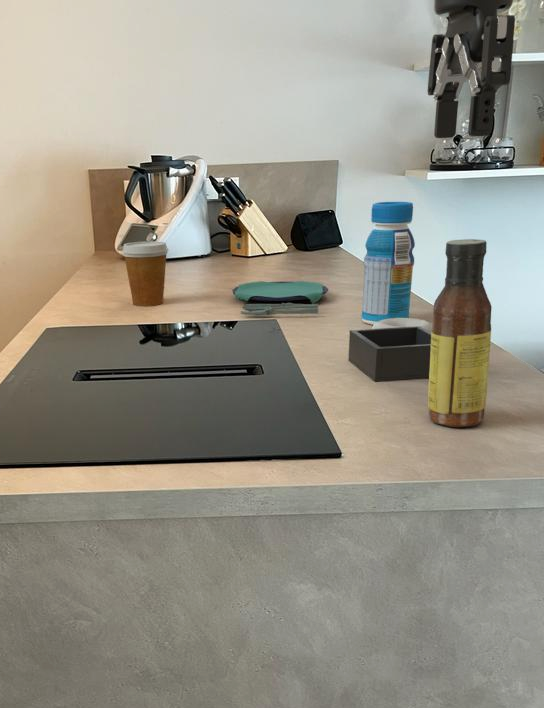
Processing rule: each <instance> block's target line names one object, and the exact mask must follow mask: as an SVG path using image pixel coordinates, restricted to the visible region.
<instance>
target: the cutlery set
mask: <svg viewBox="0 0 544 708" xmlns="http://www.w3.org/2000/svg"><path fill="white" fill-rule="evenodd" d="M328 291H329V288H328V287H327V286H326V285H323V283H320V282H315V281H314V282H313V281H308V280H307V281H306V280H299V281H298V280H297V281H263V280H259V281H251V282H250V281H249V282H245V283H240V284H238V286H236V287H234V288H232V294H233V295H234V296H235V297H236V299H237V300H240V301H245V302H249V300H254V301H263V302H282V303H247V304H243V306H242V307H241V309H243V311H242V310H241V311H240V315H241V314H242V315H259V316H262V315H264V316H265V315H266V316H271V315H273V313H275V314H285V315H299V314H300V315H301V314H316V315H317V314H319V303H317V302H318V301H319V300H320V299H321V298H322V296H323V295H325V294H327V293H328ZM308 299H309V300H310V302H311V304H309V303H308V304H304V303H292V302H291V301H301V300H302V301H303V300H308ZM289 301H290V302H289ZM284 302H286V303H284Z"/></svg>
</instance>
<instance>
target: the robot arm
mask: <svg viewBox="0 0 544 708" xmlns="http://www.w3.org/2000/svg"><path fill="white" fill-rule="evenodd" d="M513 2H514V0H433V14H434V15H435V16H436V17H438V18H441V19H443V18H445V19H446V20H447V25H446V30H445V33H439V34H433V35H432V39H431V49H430V58H429V59H430V60H429V70H428V79H427V81H428V82H427V91H426V92H427V95H428V96H432V97H433V100H434V101H435V102H436V105H435V115H434V116H435V119H434V131H433V135H434V137H435V138H436V139H451V138H454V137H455V136H456V133H457V123H458V122H457V121H458V112H459V111H458V110H459V100H458V99H459V96H460V94H461V91H462V88H463V85H464V84H465V83H466V82H469V86H470V90H471V94H472V95H471V96H470V104H469V105H470V106H469V117H468V127H467V134H468V136H469V137H488V136H490V135H491V134H492V132H493V124H494V113H495V104H496V95H498V94H499V93H500V91H501V88H502V86H508V85H509V84H510V82H511V75H512V72H511V71H512V64H513V63H512V61H513V51H514V39H515V38H514V36H515V23H516V18H515V17H516V16H515V15H514V14H507V15H506V14H505V15H503V14H502V15H498V14H501V13H504V12H506V11H508V10H509V9H511V7H512V6H513ZM499 69H500V71H499Z"/></svg>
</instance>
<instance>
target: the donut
mask: <svg viewBox="0 0 544 708" xmlns="http://www.w3.org/2000/svg"><path fill="white" fill-rule="evenodd" d="M413 326H420V327H422V328H424V329H426V330H428V331H430V332H431V331H432V327H433V323H431V322H429V321H427V320H425V319H420V318H412V317H409V318H390V319H384V320H381V321H378V322H376V323H375V324H374V325H372V326H371V328H370V329H381V328H397V327H413Z"/></svg>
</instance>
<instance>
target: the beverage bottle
mask: <svg viewBox="0 0 544 708" xmlns="http://www.w3.org/2000/svg"><path fill="white" fill-rule="evenodd" d="M413 213H414V203H413V202H410V201H379V202H373V204H372V206H371V215H370V221H371V224H372V225H374V227H373V229H372V230H371V231H370V233H369V235H368V236H367V239H366V241H365V248H366V254H365V256H364V258H363V267H364V270H363V290H362V291H363V295H362V310H361V321H362V322H363V323H365V324H367V325H372V326H373V325H374V324H375V323H376V322H378V321H381V320H384V319H390V318H410V307H411V306H410V304H411V293H412V282H413V272H414V271H413V270H414V265H415V256H414V254H413V250H414V248H415V246H416V242H415V238H414V235H413V234H412V231H411V230H410V228H409V226H408V225H410V224H411V223H412V222H413V215H414V214H413Z"/></svg>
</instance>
